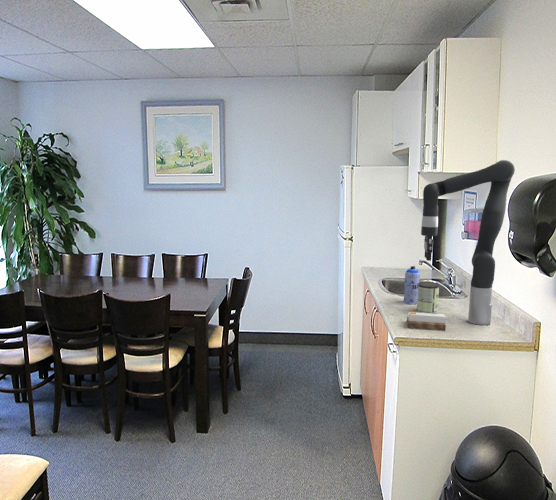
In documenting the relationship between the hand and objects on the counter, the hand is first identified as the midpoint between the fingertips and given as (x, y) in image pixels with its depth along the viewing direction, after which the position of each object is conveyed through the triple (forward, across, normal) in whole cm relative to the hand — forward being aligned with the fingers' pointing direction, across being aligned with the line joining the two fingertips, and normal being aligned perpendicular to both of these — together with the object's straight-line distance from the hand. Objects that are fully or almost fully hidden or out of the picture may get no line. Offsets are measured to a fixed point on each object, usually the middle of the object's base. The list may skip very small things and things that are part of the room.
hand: (427, 259), depth 233 cm
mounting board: (+28, -18, +1) cm, 33 cm away
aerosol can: (+28, +23, +5) cm, 37 cm away
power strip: (+28, -18, +1) cm, 33 cm away
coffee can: (+28, +8, -2) cm, 29 cm away
